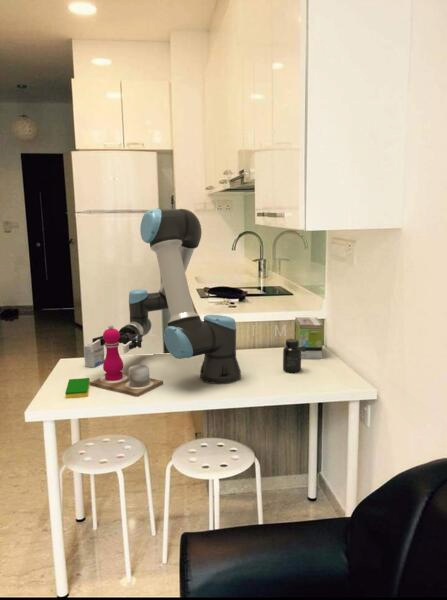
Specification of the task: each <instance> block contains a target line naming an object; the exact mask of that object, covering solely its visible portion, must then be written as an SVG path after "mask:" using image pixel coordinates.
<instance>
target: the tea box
mask: <svg viewBox="0 0 447 600" xmlns="http://www.w3.org/2000/svg"><path fill="white" fill-rule="evenodd" d="M323 334H324V324H323V323H322V321H321V320H320V319H319V318H318V317H313V316H312V317H307V316H306V317H304V316H303V317H299V316H297V317H295V318H294V339H296V340H298V341H299V346H298V347H299V348H300V349H301V360H302V359H303V360H309V359H310V360H316V359H317V360H320V359H321V360H322V358H323V338H324V335H323Z"/></svg>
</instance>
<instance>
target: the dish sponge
mask: <svg viewBox="0 0 447 600" xmlns="http://www.w3.org/2000/svg"><path fill="white" fill-rule="evenodd" d="M90 379H91V378H90V377H83V378H69V379H68V382H67V386H66V389H65V395H64V396H65V399H74V398H75V399H77V398H87V397H88V396H89V390H90V386H91V385H90V382H91V381H90Z"/></svg>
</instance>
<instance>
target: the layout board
mask: <svg viewBox="0 0 447 600" xmlns="http://www.w3.org/2000/svg"><path fill="white" fill-rule="evenodd" d="M121 372H122V373H123V377H122V379H120V380H116V381H108V380H106V379H105V375H103V376H101V377H99V378H97V379H95V380H92V381H90V385H89V386H91V387H96V388H99V389H104V390H109V391H113V392H116V393H120V394H124V395H125V394H126V395H130V396H134V397H136V398H137V397H141V396H143V395H144V394H146V393H148V392H150V391H152V390H155V389H156V388H159V387H160V386H162V385H164V380H160V379H156V378H153V377H150V366H149V365H146V364H135V365H131V366H130V367H128V373H127V372H123V371H121Z"/></svg>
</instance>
